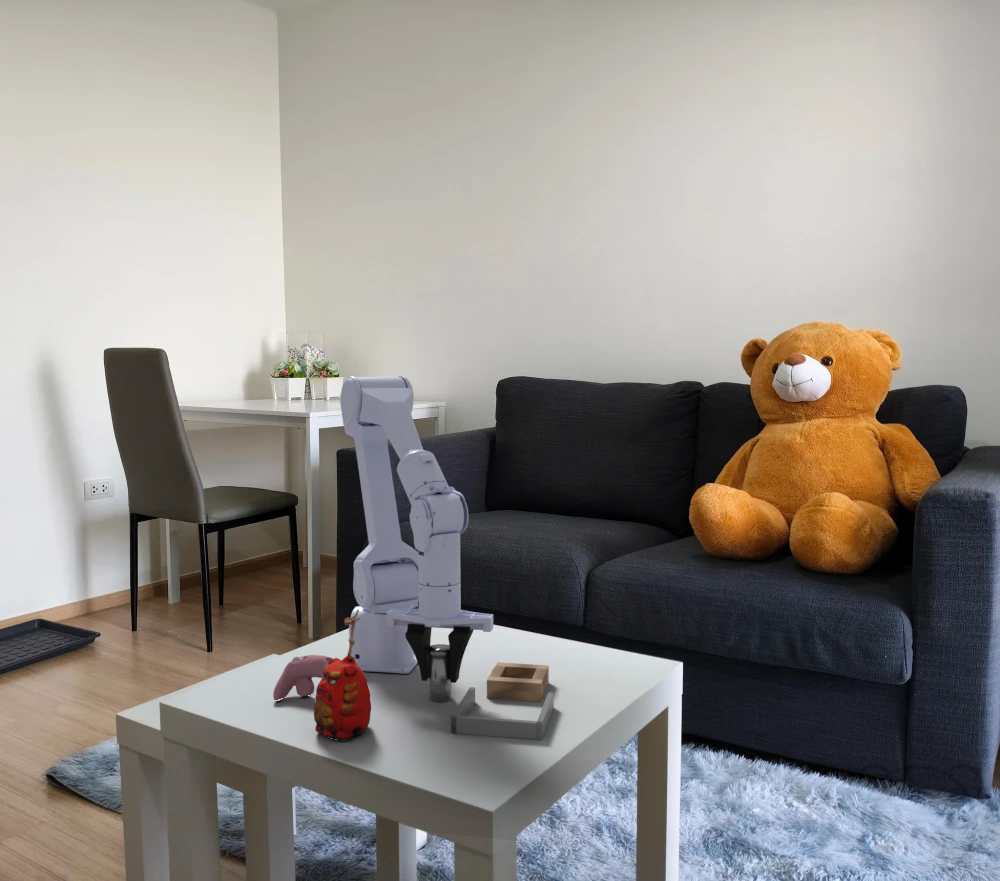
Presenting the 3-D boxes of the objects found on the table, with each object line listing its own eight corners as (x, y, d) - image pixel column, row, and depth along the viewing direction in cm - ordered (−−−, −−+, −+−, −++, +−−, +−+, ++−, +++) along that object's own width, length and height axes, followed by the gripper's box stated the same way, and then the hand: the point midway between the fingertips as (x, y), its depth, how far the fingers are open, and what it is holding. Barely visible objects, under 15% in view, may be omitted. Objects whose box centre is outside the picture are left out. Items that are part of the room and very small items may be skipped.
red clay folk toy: (302, 730, 113) (300, 613, 111) (348, 715, 118) (346, 602, 116) (339, 748, 107) (336, 625, 106) (385, 731, 112) (383, 613, 111)
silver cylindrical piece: (424, 702, 122) (423, 651, 122) (431, 692, 126) (430, 643, 125) (450, 703, 121) (449, 653, 121) (456, 694, 125) (456, 645, 124)
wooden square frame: (486, 697, 124) (486, 680, 123) (497, 679, 131) (497, 662, 131) (541, 701, 122) (541, 683, 122) (548, 682, 130) (548, 665, 129)
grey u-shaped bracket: (451, 732, 112) (450, 717, 112) (470, 701, 122) (470, 687, 122) (541, 739, 110) (541, 723, 109) (553, 707, 120) (553, 692, 120)
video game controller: (348, 713, 122) (358, 661, 125) (332, 709, 118) (343, 655, 121) (284, 704, 126) (296, 654, 128) (268, 700, 122) (279, 648, 124)
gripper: (378, 586, 120) (380, 686, 121) (485, 591, 117) (486, 693, 118) (395, 574, 127) (396, 668, 128) (496, 578, 124) (496, 675, 125)
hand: (440, 679), depth 123 cm, fingers closed on silver cylindrical piece, 3 cm apart
